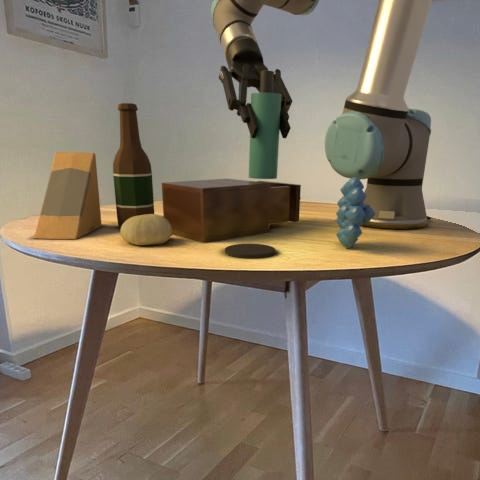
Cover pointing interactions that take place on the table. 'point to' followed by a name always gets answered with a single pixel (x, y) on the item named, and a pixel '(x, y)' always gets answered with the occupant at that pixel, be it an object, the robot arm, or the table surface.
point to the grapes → (352, 212)
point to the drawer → (284, 202)
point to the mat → (250, 250)
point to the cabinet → (216, 208)
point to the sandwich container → (70, 198)
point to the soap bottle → (265, 130)
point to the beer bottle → (131, 170)
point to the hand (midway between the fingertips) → (271, 132)
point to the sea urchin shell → (146, 230)
